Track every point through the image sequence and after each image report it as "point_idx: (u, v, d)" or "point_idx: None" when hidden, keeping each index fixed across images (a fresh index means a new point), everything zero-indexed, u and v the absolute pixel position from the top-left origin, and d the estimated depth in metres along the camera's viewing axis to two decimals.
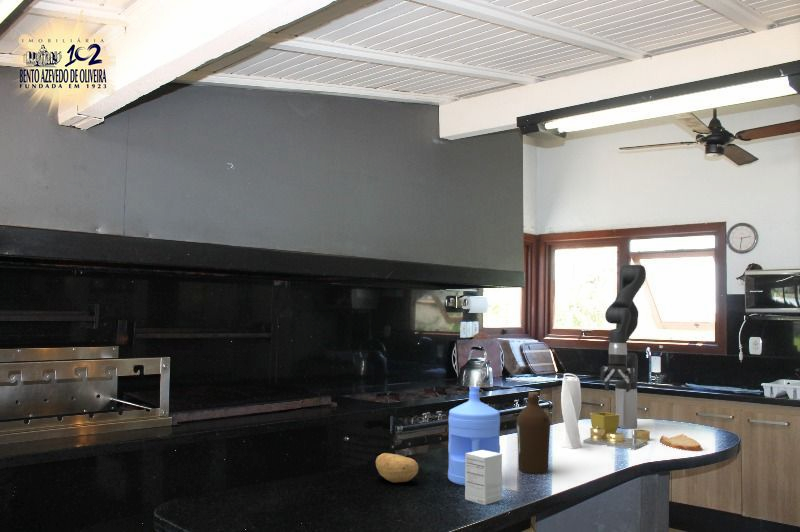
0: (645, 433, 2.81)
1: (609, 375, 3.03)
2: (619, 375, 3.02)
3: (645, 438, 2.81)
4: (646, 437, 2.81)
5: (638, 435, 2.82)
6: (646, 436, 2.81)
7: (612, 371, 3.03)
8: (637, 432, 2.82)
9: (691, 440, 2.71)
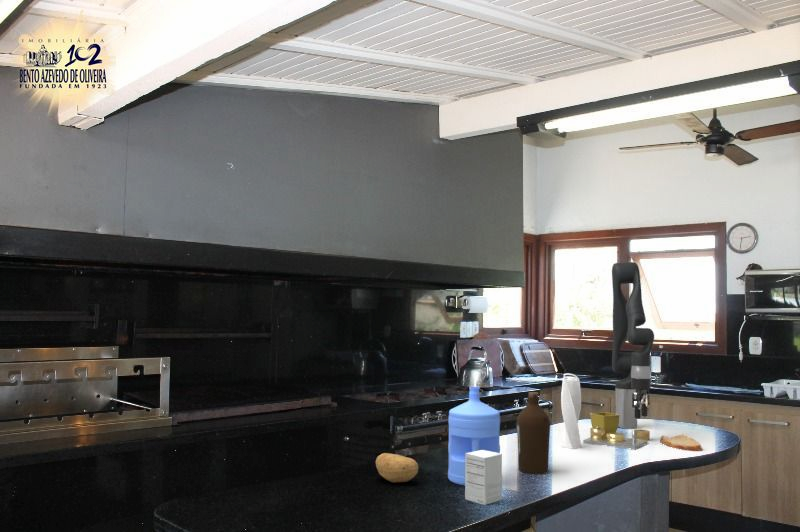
0: (645, 433, 2.81)
1: (642, 401, 2.81)
2: (644, 400, 2.85)
3: (645, 438, 2.81)
4: (646, 437, 2.81)
5: (638, 435, 2.82)
6: (646, 436, 2.81)
7: (644, 397, 2.82)
8: (637, 432, 2.82)
9: (691, 440, 2.71)
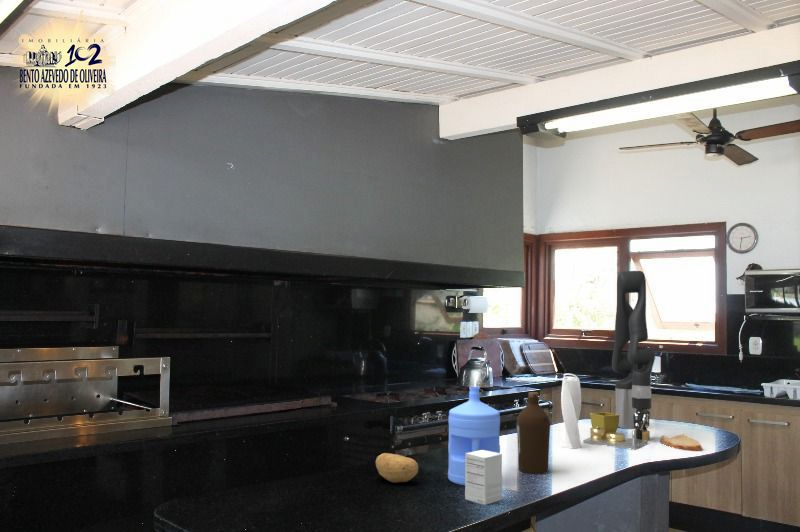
0: (645, 433, 2.81)
1: (644, 422, 2.81)
2: (644, 419, 2.84)
3: (645, 438, 2.81)
4: (646, 437, 2.81)
5: None
6: (646, 436, 2.81)
7: (645, 416, 2.82)
8: None
9: (691, 440, 2.71)
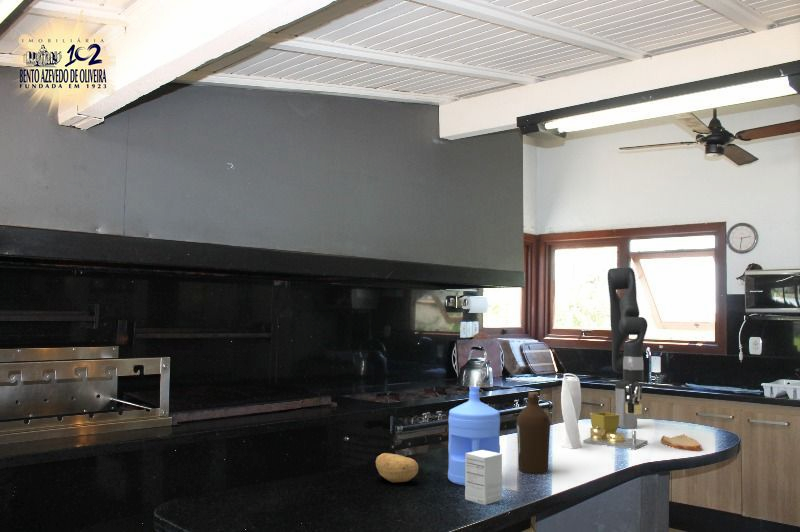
0: (637, 406, 2.69)
1: (635, 394, 2.69)
2: (636, 392, 2.72)
3: (637, 411, 2.69)
4: (638, 410, 2.69)
5: None
6: (638, 409, 2.69)
7: (637, 389, 2.70)
8: None
9: (691, 440, 2.71)
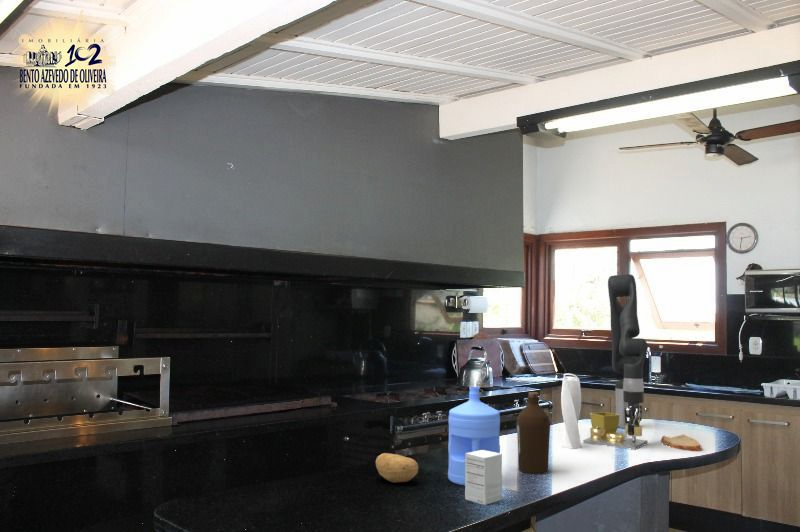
0: (637, 428, 2.68)
1: (635, 416, 2.68)
2: (636, 414, 2.71)
3: (637, 433, 2.68)
4: (638, 432, 2.68)
5: None
6: (638, 431, 2.68)
7: (637, 411, 2.69)
8: None
9: (692, 440, 2.71)
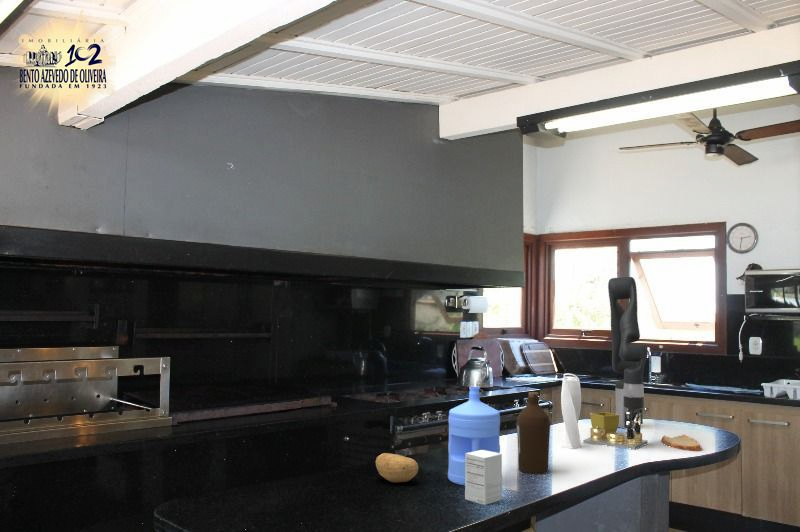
0: (637, 436, 2.68)
1: (635, 421, 2.68)
2: (637, 419, 2.72)
3: (637, 441, 2.68)
4: (639, 440, 2.68)
5: None
6: (638, 439, 2.68)
7: (637, 416, 2.69)
8: None
9: (692, 440, 2.71)
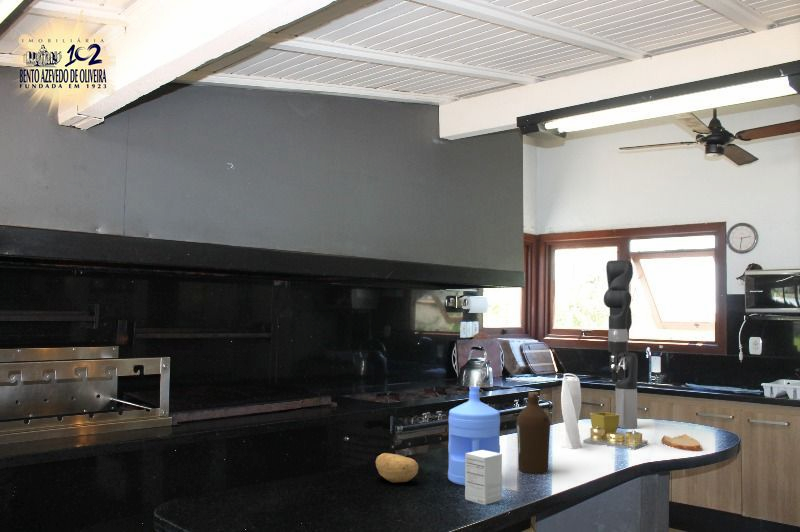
0: (637, 436, 2.68)
1: (620, 365, 2.78)
2: (621, 363, 2.82)
3: (637, 441, 2.68)
4: (639, 440, 2.68)
5: (630, 438, 2.69)
6: (638, 439, 2.68)
7: (621, 360, 2.79)
8: (629, 435, 2.69)
9: (692, 440, 2.71)
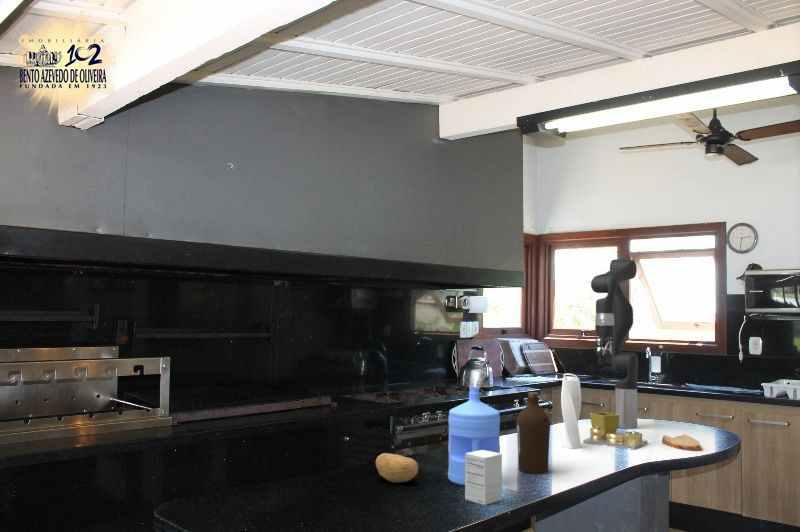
0: (637, 436, 2.68)
1: (606, 348, 2.85)
2: (608, 347, 2.89)
3: (637, 441, 2.68)
4: (639, 440, 2.68)
5: (630, 438, 2.69)
6: (638, 439, 2.68)
7: (607, 343, 2.86)
8: (629, 435, 2.69)
9: (692, 440, 2.71)
